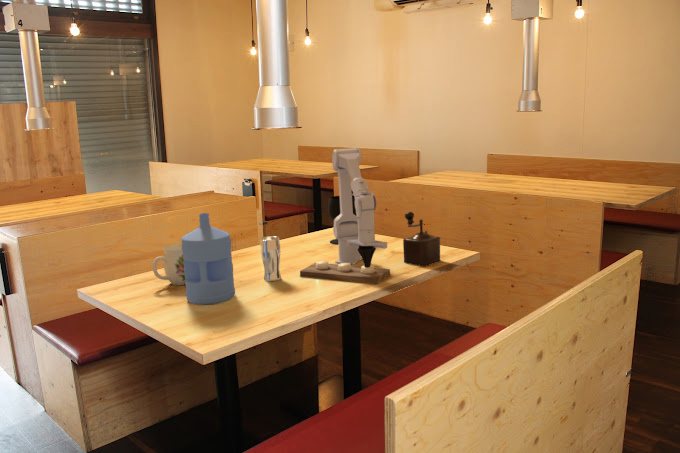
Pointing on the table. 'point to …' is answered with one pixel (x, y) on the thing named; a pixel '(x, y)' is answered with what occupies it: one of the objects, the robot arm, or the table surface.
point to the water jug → (208, 264)
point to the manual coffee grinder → (420, 245)
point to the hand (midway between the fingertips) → (367, 266)
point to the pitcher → (172, 264)
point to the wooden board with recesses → (345, 274)
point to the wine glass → (334, 211)
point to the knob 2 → (344, 267)
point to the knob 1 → (322, 265)
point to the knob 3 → (367, 270)
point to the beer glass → (271, 257)
